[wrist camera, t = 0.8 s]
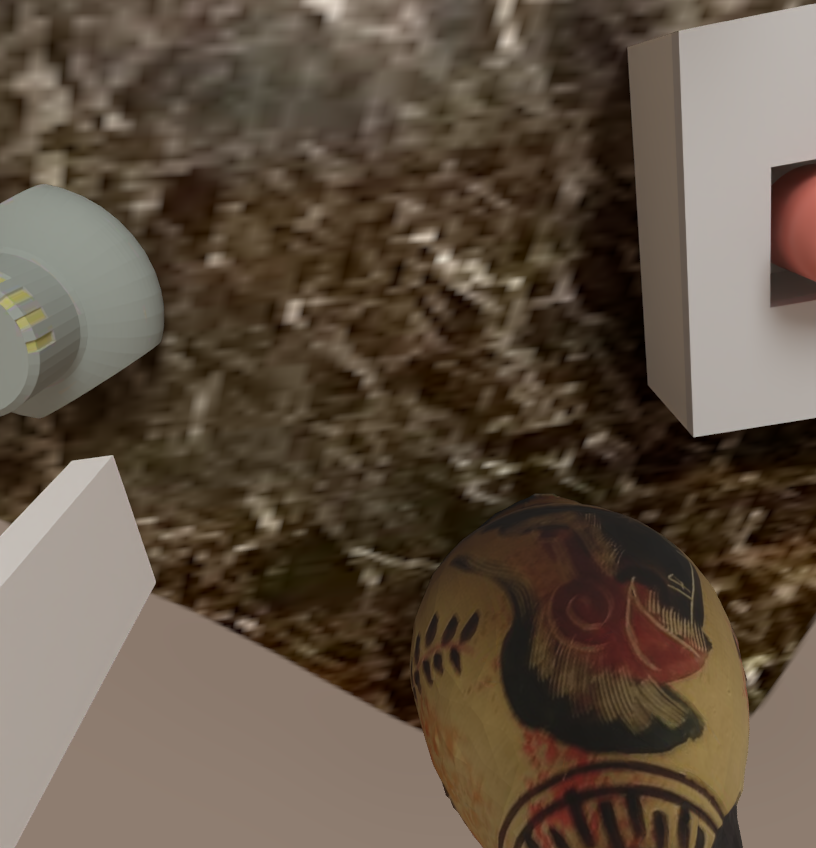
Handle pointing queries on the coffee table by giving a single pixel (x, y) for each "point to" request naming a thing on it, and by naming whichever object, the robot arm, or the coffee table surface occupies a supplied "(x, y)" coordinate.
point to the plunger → (795, 221)
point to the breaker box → (724, 218)
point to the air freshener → (69, 299)
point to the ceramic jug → (581, 685)
